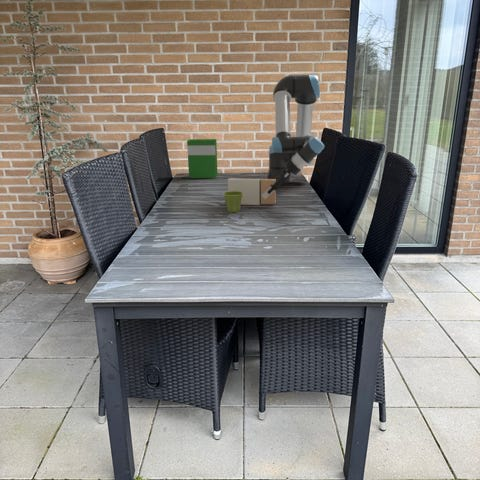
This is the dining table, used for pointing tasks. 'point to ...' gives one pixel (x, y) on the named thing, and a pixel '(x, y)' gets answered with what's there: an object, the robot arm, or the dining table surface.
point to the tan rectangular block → (264, 186)
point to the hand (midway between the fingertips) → (265, 194)
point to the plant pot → (233, 200)
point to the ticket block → (247, 190)
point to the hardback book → (202, 158)
